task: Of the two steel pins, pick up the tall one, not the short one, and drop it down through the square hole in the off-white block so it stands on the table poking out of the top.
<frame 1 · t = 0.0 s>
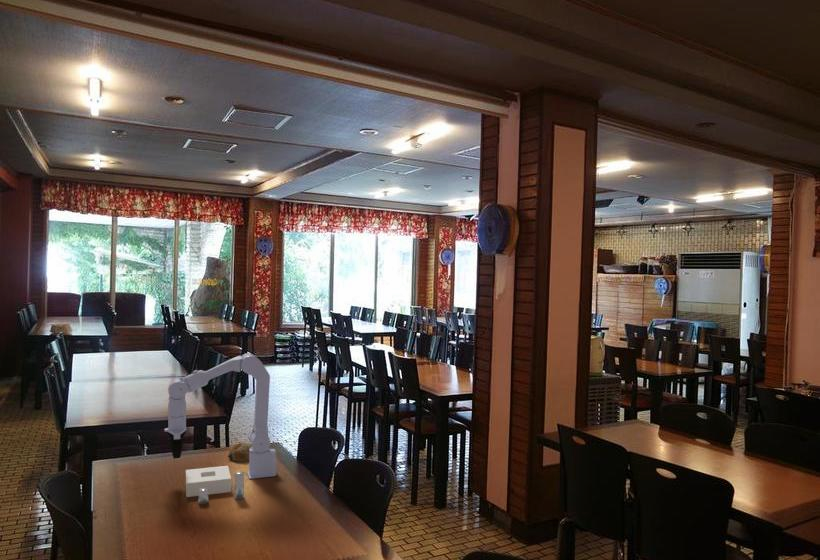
hand: (176, 454, 202), 10 cm above the table, tool pointing down, fingers open, 7 cm apart
tall steel pin: (239, 497, 191), on the table
bread roll: (241, 458, 231), on the table
hole block: (208, 487, 199), on the table
short steel pin: (203, 502, 187), on the table
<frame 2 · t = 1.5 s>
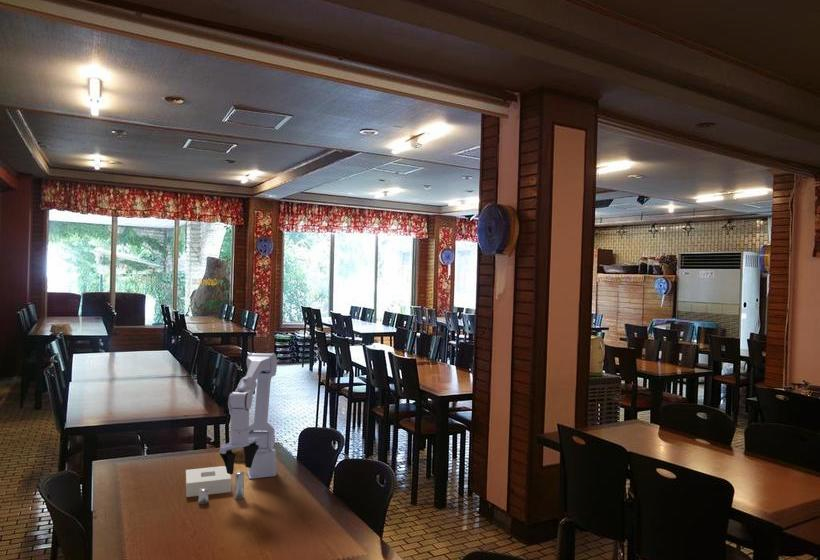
hand: (239, 470, 190), 9 cm above the table, tool pointing down, fingers open, 7 cm apart
nothing on the table moved.
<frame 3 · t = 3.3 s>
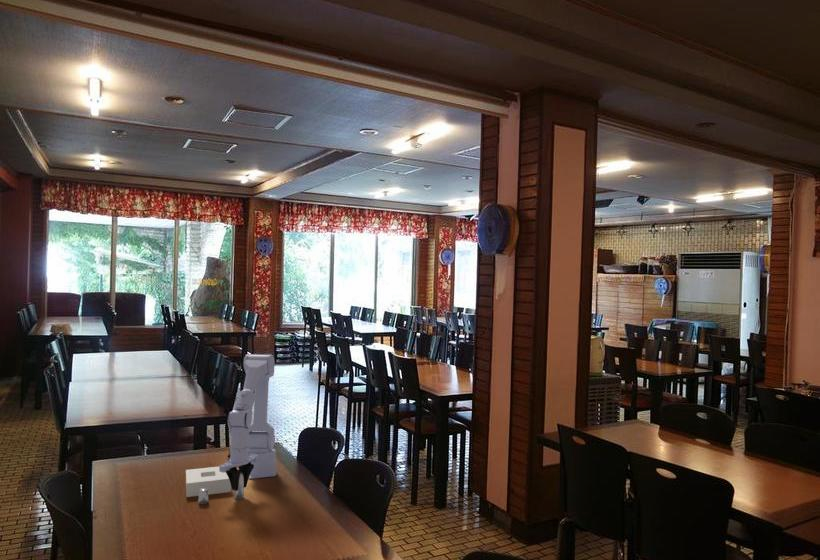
hand: (239, 488, 191), 3 cm above the table, tool pointing down, fingers closed on tall steel pin, 3 cm apart
tall steel pin: (239, 497, 191), on the table, touching gripper
everything else where it was.
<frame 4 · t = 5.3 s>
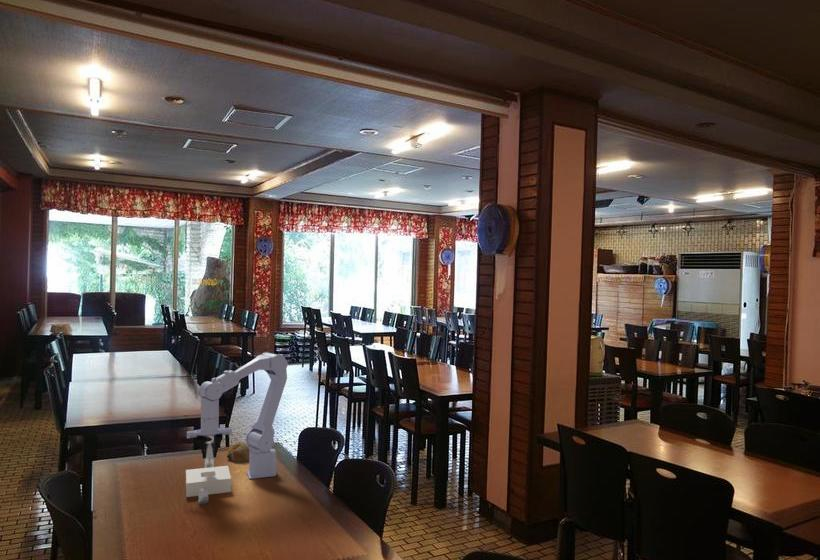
hand: (209, 457, 199), 10 cm above the table, tool pointing down, fingers closed on tall steel pin, 3 cm apart
tall steel pin: (209, 466, 199), point 7 cm above the table, touching gripper
everything else where it was.
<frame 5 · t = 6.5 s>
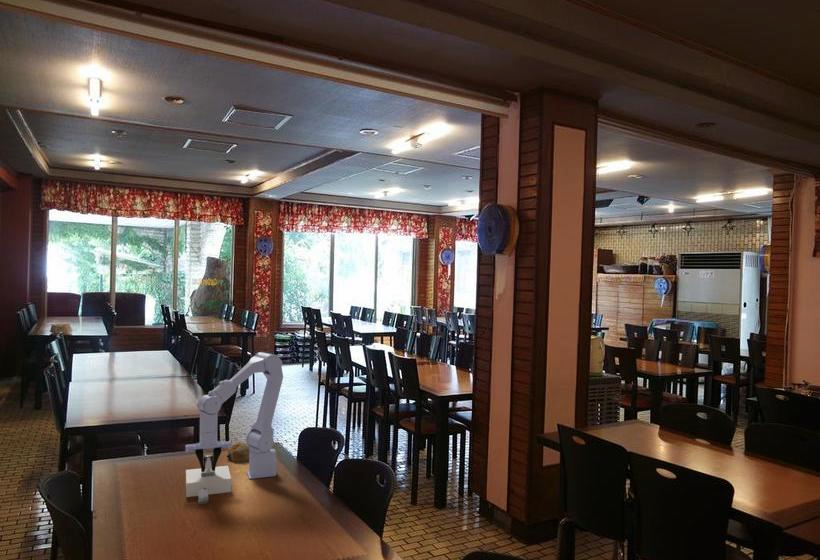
hand: (208, 470, 199), 6 cm above the table, tool pointing down, fingers closed on tall steel pin, 3 cm apart
tall steel pin: (208, 479, 199), point 3 cm above the table, touching gripper
everything else where it was.
when the fingers open (5 cm above the table, at t = 7.3 s): tall steel pin drops 2 cm, resting in hole block.
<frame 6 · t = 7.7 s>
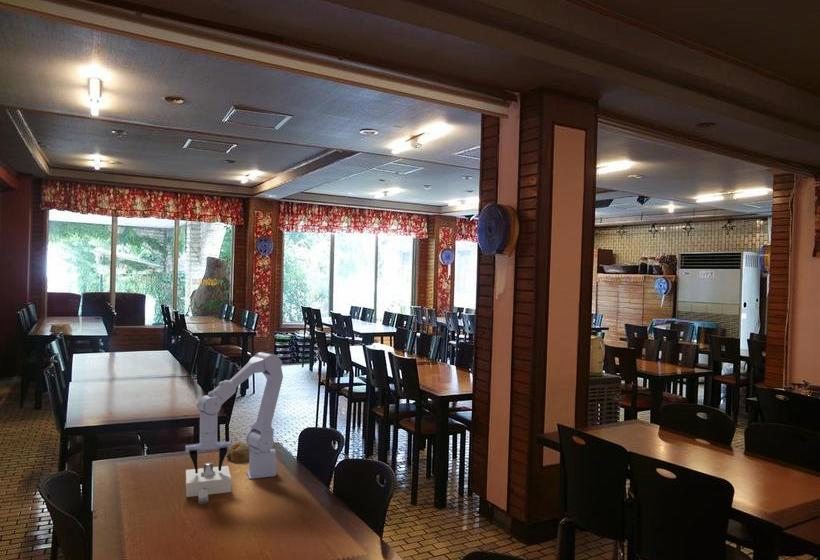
hand: (208, 471, 199), 6 cm above the table, tool pointing down, fingers open, 7 cm apart
tall steel pin: (208, 487, 199), resting in hole block
everything else where it was.
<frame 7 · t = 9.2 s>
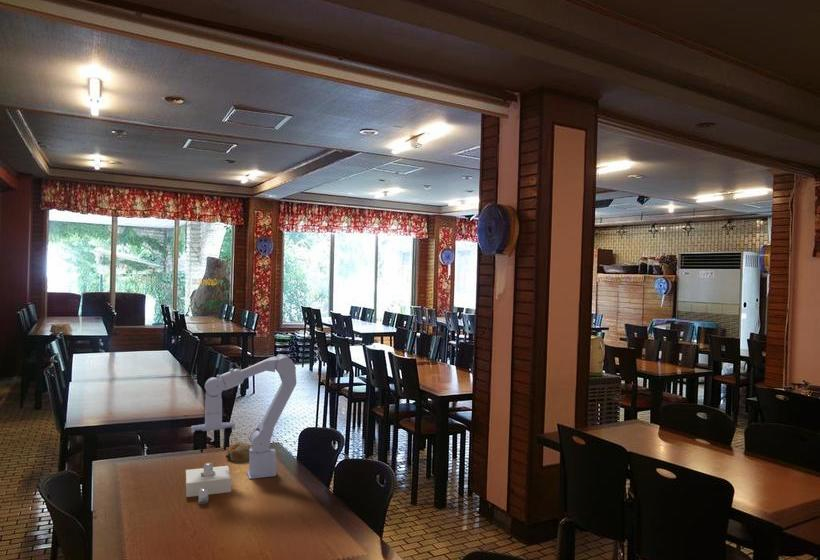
hand: (213, 450, 207), 10 cm above the table, tool pointing down, fingers open, 7 cm apart
nothing on the table moved.
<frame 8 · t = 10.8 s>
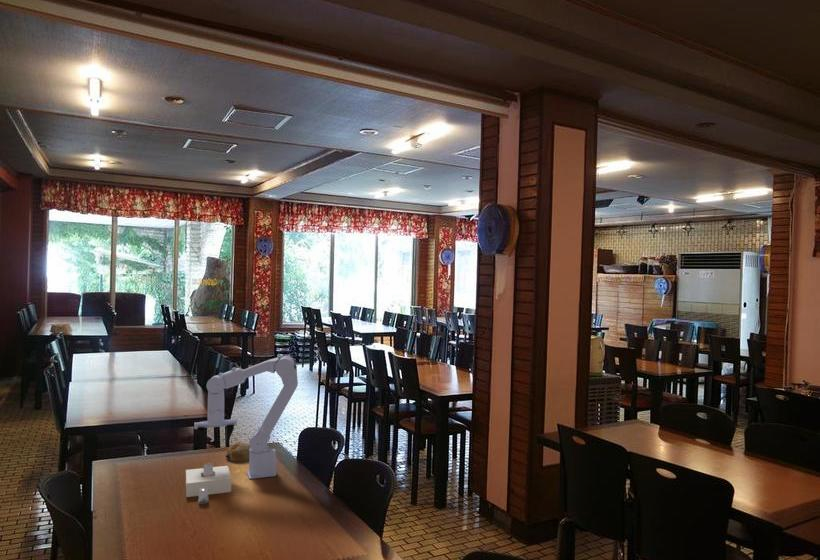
hand: (215, 447, 211), 10 cm above the table, tool pointing down, fingers open, 7 cm apart
nothing on the table moved.
at the end: tall steel pin 0.2 cm off-centre on the hole block, point 0.0 cm above the hole block's base; tall steel pin tilted 0°; short steel pin moved 0.0 cm from its start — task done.
